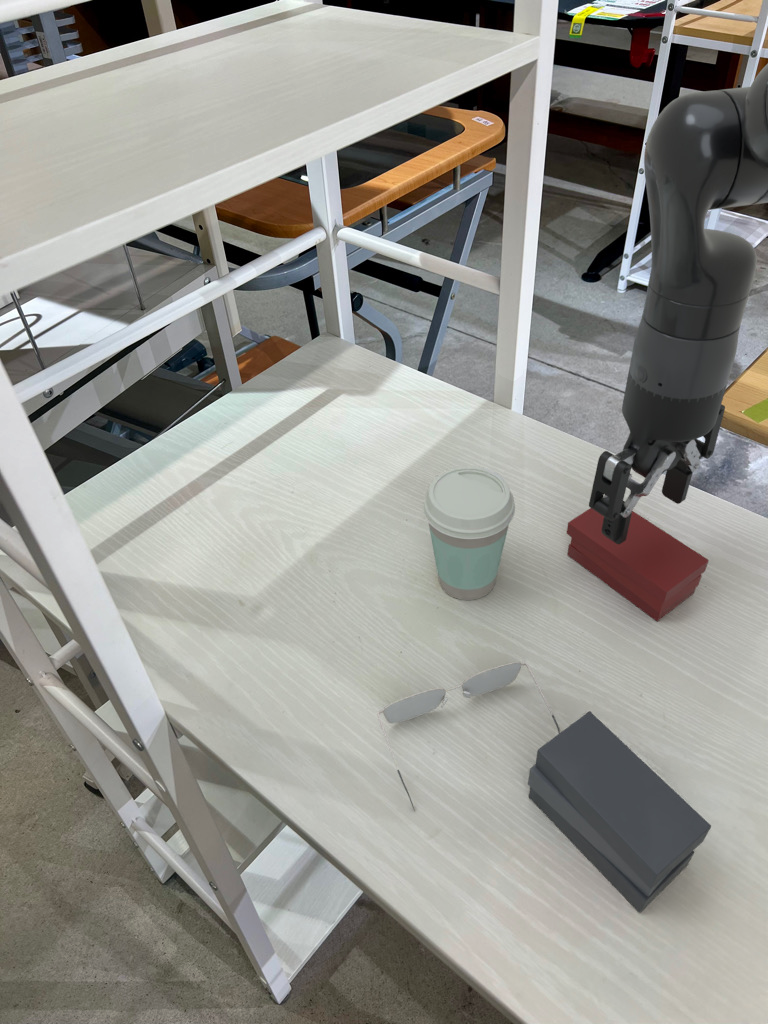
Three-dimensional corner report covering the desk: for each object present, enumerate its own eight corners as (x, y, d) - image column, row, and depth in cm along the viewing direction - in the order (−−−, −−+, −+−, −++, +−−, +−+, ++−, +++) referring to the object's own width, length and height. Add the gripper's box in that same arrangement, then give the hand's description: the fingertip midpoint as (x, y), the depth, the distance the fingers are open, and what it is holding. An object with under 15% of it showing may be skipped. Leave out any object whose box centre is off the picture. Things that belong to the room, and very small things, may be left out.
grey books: (692, 864, 55) (716, 821, 50) (639, 918, 52) (658, 878, 48) (574, 752, 62) (585, 705, 57) (522, 795, 59) (529, 749, 55)
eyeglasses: (523, 679, 67) (527, 655, 64) (566, 758, 62) (573, 737, 59) (377, 728, 65) (375, 706, 62) (409, 816, 59) (409, 796, 56)
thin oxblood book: (705, 571, 71) (709, 559, 70) (663, 603, 69) (667, 592, 68) (607, 506, 79) (609, 495, 77) (566, 533, 76) (567, 522, 75)
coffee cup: (523, 596, 74) (532, 508, 66) (444, 621, 73) (444, 534, 65) (487, 540, 80) (491, 453, 72) (413, 562, 79) (409, 475, 71)
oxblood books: (697, 594, 73) (704, 572, 71) (657, 625, 71) (664, 603, 69) (603, 530, 80) (608, 508, 78) (565, 556, 78) (568, 534, 76)
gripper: (659, 425, 54) (625, 576, 65) (774, 355, 60) (724, 504, 71) (581, 383, 59) (561, 530, 70) (694, 322, 65) (659, 467, 76)
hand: (643, 517), depth 70 cm, fingers open, 8 cm apart
